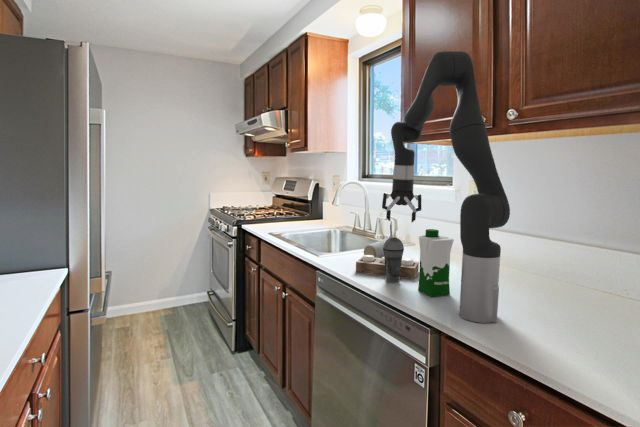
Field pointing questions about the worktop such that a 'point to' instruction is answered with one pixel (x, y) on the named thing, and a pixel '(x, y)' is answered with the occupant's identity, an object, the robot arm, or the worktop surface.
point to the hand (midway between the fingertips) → (400, 221)
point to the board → (379, 268)
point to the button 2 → (407, 262)
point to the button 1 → (368, 258)
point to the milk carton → (434, 263)
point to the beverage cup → (393, 258)
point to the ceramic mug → (375, 249)
